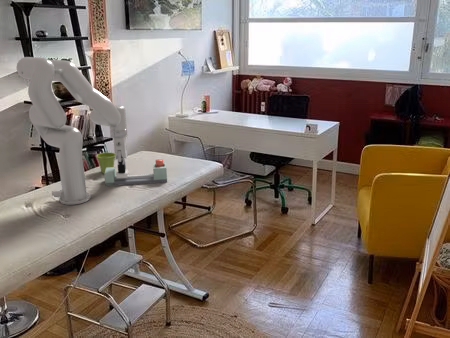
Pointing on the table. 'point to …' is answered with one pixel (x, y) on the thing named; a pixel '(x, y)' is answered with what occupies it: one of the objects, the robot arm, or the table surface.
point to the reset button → (159, 163)
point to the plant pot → (106, 160)
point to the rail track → (136, 177)
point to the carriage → (122, 174)
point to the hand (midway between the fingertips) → (122, 171)
